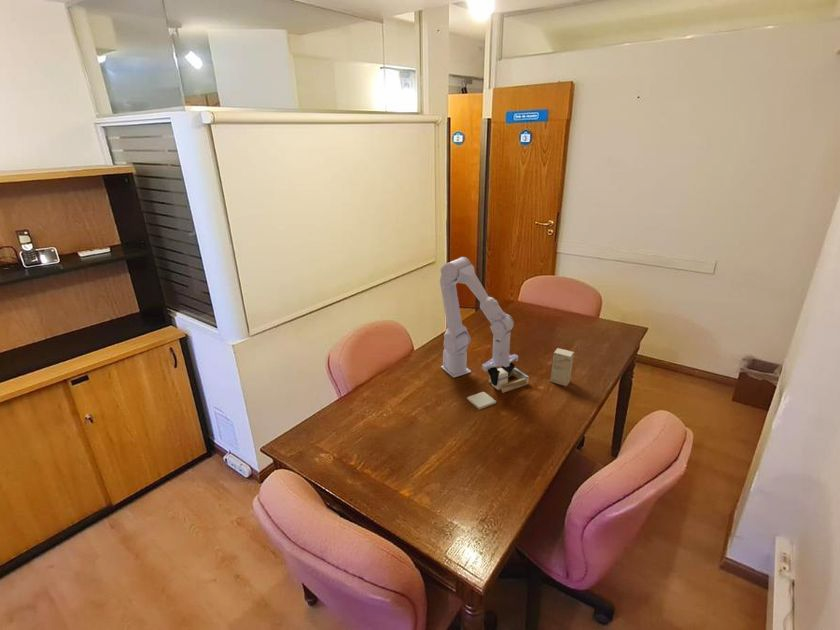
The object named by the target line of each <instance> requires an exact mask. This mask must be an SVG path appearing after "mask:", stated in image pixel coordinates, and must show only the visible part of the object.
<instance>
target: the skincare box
mask: <svg viewBox="0 0 840 630" xmlns="http://www.w3.org/2000/svg"><path fill="white" fill-rule="evenodd" d="M574 357H575V352H574V351H571V350H567V349H563V348H559V347H557V348H556V349H555V350H554V352H553V358H552V363H551V373H550V380H549V382H551V383H553V384H557V385H561V386H564V387H567V386H568V385H569V383H570V382H571V377H572V376H571V375H572V371H573V370H572V369H573V363H574Z"/></svg>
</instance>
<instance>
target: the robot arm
mask: <svg viewBox="0 0 840 630" xmlns="http://www.w3.org/2000/svg"><path fill="white" fill-rule="evenodd" d="M440 273H441V275H440V280H439V286H440V291H441V298H442V303H443V309H444V314H445V319H446V325H447V327H446V331H445V332H444V334H443V337H444V339H443V348H444V349H443V351H442V365H441V366H440V368H441V369H442V370H444V372H446V373H447V374H448V375H450V376H451V377H452V378H457V377H461V376H463V375H466V374H467V375H468V374H469V373H470V374H471V373H472V370H470V369H469V368H468V367H467V358H468V357H467V354H468V353H467V349H468V346H469V344H470V343H471V336H470V334H469V332H468V329H467V326H465V325H463V322H462V315H461V310H460V303H459V296H458V291H457V290H458V289H457V284H462V285H466V286H467V287H468V289H469V290H470V291H471V293H473V294H474V295H473V296H475V297H476V299H477V300H478V301H479V302H480V303H479V309H480V310H481V311H482V312H483V315H484V316H485V317H486V318H487V320H488V322H489V323H490V326H489V327H490V331H491V332H492V333H491V334H492V338H493V339H492V358H490V359H489V360H488V361H486V362H485V363H482V364H481V365H482V366H481V369H482V370H483V371H484V372H487V373H488V376H490V378H491V382H492V383H491V385H492V384H493V385H494V386H497V381H498V375H499V373H500V371H498V370H497V369H498V368H502V369H504V370H505V371H507V372H508V379H509V375H510V373H511V371H512V370H513V369H514V368H516V367H515V363H513V362H519V355H517V354H516V353H514V354H510V347H511V346H510V345H511V330H512V329H513V328H514V326H515V323H514V319H513V317H512V316H511V315H510V314H508V313H506V311H505V312H504V310H503V309H502V308H501V306H500V305H499V302H498V300H497V299H495V298H494V297H492V296H489V295H488V293H487V292H486V289H485V288H484V286H483V284H482V282H481V281H480V279H479V278H478V276H477V274H476V272H475V266H474V265H473V264H472V263H471V261H470V259H469V258H467V257H466V256H460V257H458V258H457V259H456V258H455V259H453V260H452V261H450V262H445V263H444V265H442V266H441V268H440ZM497 367H498V368H497ZM494 386H493V387H494Z"/></svg>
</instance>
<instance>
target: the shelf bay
mask: <svg viewBox="0 0 840 630" xmlns="http://www.w3.org/2000/svg"><path fill="white" fill-rule="evenodd" d="M512 376H513V377H514V378H515V379H517V380H514V381H511V382H508V383H507V384H505V385H502V389H500V391H501V393H503V394H504V393H506V392H509V391H512V390H515V389H518V388H520V387H523V386H526V385H529V380H530V376H529V375H527V374H526V373H524V372H523V371H522V370H519V369H518V368H517V367H515V368H514V369H513V370H512V371H511V373H510V375H509V377H512ZM488 383H489V384H492V382H491V378H490V375H488Z"/></svg>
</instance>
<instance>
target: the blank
mask: <svg viewBox="0 0 840 630" xmlns="http://www.w3.org/2000/svg"><path fill="white" fill-rule="evenodd" d="M497 370H498V371H500V373H499V375H498V381H497V386H494V385H493V384H492V383H491V386H492V387H493V388H495V389H496V390H498V391H501V389H502V385H505V384H507V383H509V382H508V381H509V378H508V372H507V371H505V370H504V369H502V367H498V368H497Z"/></svg>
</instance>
